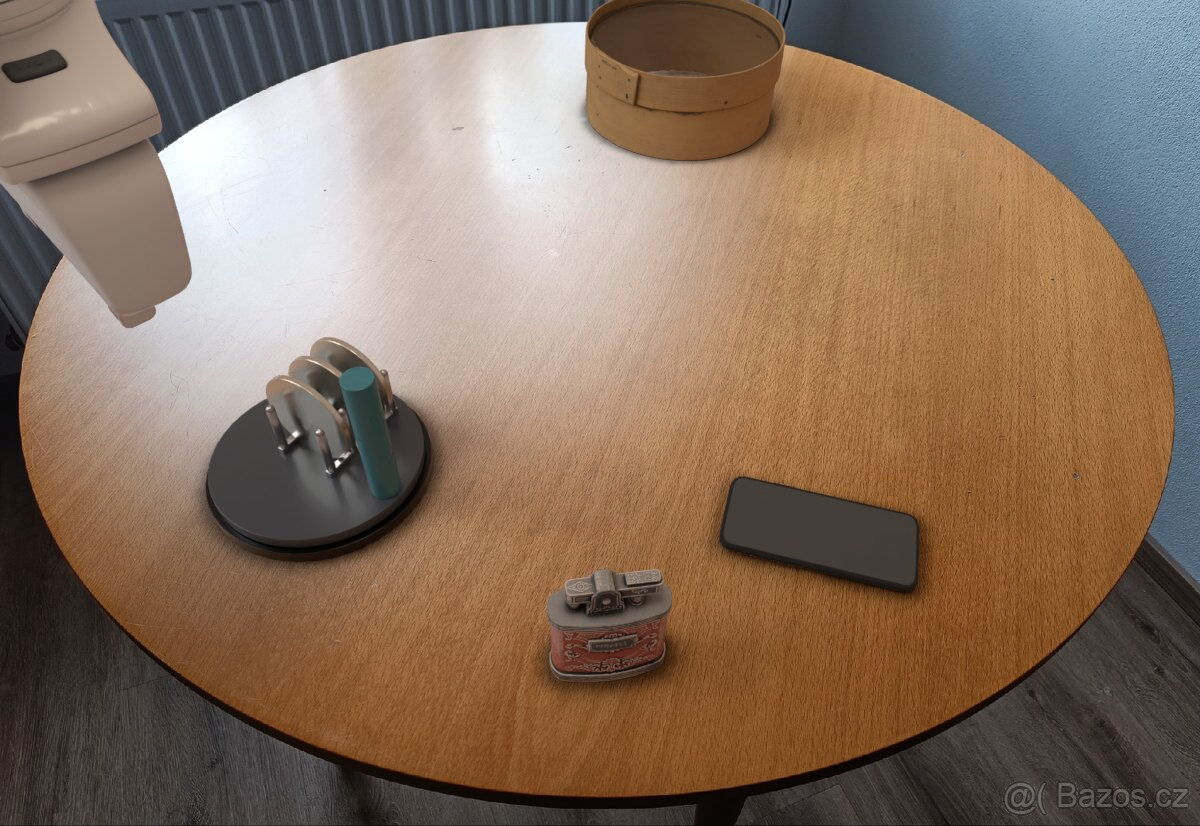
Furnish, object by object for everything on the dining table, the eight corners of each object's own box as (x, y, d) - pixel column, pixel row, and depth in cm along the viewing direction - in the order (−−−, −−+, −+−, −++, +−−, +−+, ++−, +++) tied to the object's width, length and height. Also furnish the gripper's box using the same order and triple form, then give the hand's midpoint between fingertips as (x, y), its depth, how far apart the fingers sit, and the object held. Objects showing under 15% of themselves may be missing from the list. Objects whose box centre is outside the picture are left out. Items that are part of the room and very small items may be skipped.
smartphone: (919, 592, 63) (717, 543, 65) (915, 599, 63) (715, 550, 66) (920, 514, 68) (732, 471, 70) (917, 521, 68) (731, 478, 71)
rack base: (334, 599, 63) (331, 592, 62) (160, 502, 69) (155, 494, 68) (475, 440, 74) (474, 432, 73) (315, 367, 80) (312, 359, 79)
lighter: (552, 688, 58) (548, 612, 51) (547, 643, 61) (542, 564, 53) (669, 672, 59) (681, 595, 52) (659, 628, 61) (669, 548, 54)
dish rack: (330, 583, 62) (285, 469, 53) (164, 491, 68) (97, 374, 59) (466, 433, 73) (448, 315, 63) (312, 364, 78) (275, 247, 69)
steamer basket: (636, 180, 102) (640, 89, 94) (554, 90, 118) (552, 5, 110) (809, 138, 110) (827, 50, 102) (710, 59, 125) (719, -23, 117)
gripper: (-202, -62, 38) (-56, 188, 49) (13, 177, 31) (129, 408, 42) (-50, -93, 41) (56, 149, 52) (178, 118, 34) (245, 346, 45)
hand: (90, 266), depth 47 cm, fingers open, 8 cm apart
